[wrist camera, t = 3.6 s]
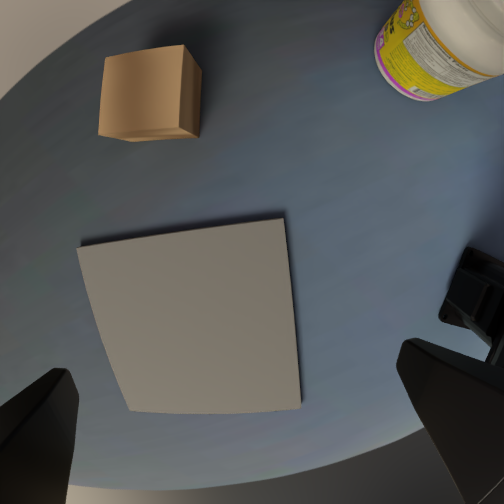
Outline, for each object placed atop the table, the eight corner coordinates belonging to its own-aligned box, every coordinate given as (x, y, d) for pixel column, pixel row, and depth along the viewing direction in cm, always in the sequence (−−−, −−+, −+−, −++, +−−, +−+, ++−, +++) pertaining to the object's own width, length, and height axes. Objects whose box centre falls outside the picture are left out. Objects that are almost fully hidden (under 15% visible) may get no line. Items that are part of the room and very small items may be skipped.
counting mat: (283, 217, 21) (283, 218, 20) (300, 403, 25) (301, 408, 24) (80, 246, 22) (76, 248, 22) (132, 407, 26) (130, 410, 25)
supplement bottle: (405, 14, 17) (484, -71, 4) (460, 76, 17) (570, 33, 5) (352, 51, 18) (425, -52, 5) (414, 120, 19) (538, 82, 6)
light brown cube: (202, 71, 19) (183, 44, 14) (199, 137, 20) (178, 127, 15) (136, 78, 19) (105, 57, 14) (132, 141, 20) (98, 134, 16)
